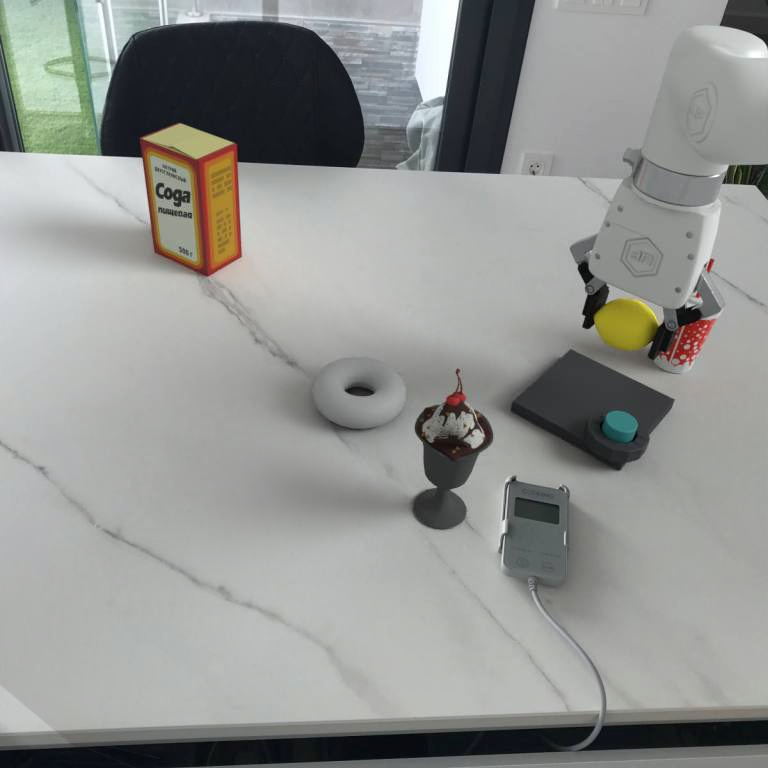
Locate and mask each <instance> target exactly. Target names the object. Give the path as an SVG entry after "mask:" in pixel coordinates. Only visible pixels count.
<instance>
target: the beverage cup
mask: <svg viewBox="0 0 768 768" xmlns="http://www.w3.org/2000/svg"><path fill="white" fill-rule="evenodd" d="M714 262H715V259H714V258H710V260H709V263H708V266H707V269H706V270H707V271H708V273H709V274H710V272H711V271H712V268H713V266H714ZM702 303H703V300H702V298H701V297H700V295H699V293H698V292H697V291H696V292H695V293H692V295H691V296H690V298H689V300H688V301H687V308H688V307H691V306H694V305H697V304H702ZM724 310H725V307H724V308H723V309H722V310H721V311H720V312H719V313H717V314H714V315H712V316H709V317H707V318H703V319H700V320H699V321H697V322H695V323H692V324H689V325H685V326H682V327H679V329H678V331H677V334H676V336H675V339H674V342H673V344H672V346H671V348H670V350H669V351H668V352H667V353H664V352H661V353H660V354H659V355H658V357H657V358H656V359H655V360H654V361H653V363H654V364H655V365H656V366H657V367H658V368H659V369H661V370H663V371H665V372H668V373H672V374H679V375H680V374H685V373H688V372H690V370H691V369H692V367H693V366H694V363H695V362H696V360H697V358H698V356H699V354H700V352H701V350H702V348H703V346H704V344H705V342H706V340H707V338H708V336H709V334H710V332H711V330H712V329H713V326H714V324H715V322H716V321H717V318H719V317H720V316H721V315H722V312H724ZM663 322H664V319H663V320H662V323H663Z"/></svg>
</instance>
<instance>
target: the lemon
mask: <svg viewBox="0 0 768 768" xmlns="http://www.w3.org/2000/svg"><path fill="white" fill-rule="evenodd" d="M594 322H595V324H594V326H595V329H596V332H597V334H598V336H599V337H600V339H601V340H602V341H603V343H604V344H605V345H607V346H610V347H612V348H614V349H617V350H619V351H622V352H627V351H628V352H630V351H631V352H632V351H639V350H643V349H644V348H645V347H647V346H649V345H650V344H652V342H653V339H654V337H655V334H656V331H657V329H658V327H659V326H660V325H661V324H660V323H659V320H658V318H657V316H656V314H655V313H654V311H653V310H652V309H651V308H650V307H649V306H648V305H647V304H645V303H644V302H642V301H641V300H639V299H634V298H629V297H619V298H616V299H613V300H612V299H611V300H610V301H608V302H606V304H605V305H604V306H602V307H601V308H600V309H599V310H598V311H597V312H596V313H595V314H594Z"/></svg>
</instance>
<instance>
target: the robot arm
mask: <svg viewBox="0 0 768 768" xmlns="http://www.w3.org/2000/svg"><path fill="white" fill-rule="evenodd" d="M622 162H623V163H626V164H628V165H629V166H630V167H631V173H630V175H629V176H626V177H624V178H622V181H621V183H620V184H619V185H618V188H617V189H616V191H615V194H614V195H613V197H612V200H611V202H610V204H609V206H608V208H607V211H606V213H605V216H604V218H603V220H602V223H601V226H600V228H599V230H598V233H595V234H592V235H589V236H586V237H584V238H581V239H579V240H577V241H575V242H574V243H572V244H571V245H570V246H569V251H570V253H571V256H572V258H573V260H574V262H575V264H576V265H577V272H578V274H579V276H580V277H581V279H582V281H583V283H584V285H585V286H584V292H585V293H586V297H585V302H584V305H583V308H582V310H581V311H582V312H581V315H582V316H584V318H583V322H582V326H581V328H583V329H585V330H591V328H593V326H595V322H594V314H595V313H596V312H597V311H598V310H599V309H600V308H601V307H602V306H604V305H605V304H607V301H608V297H609V294H610V292H611V291H610V286H612V287H614V288H616V289H619V290H621V291H623V292H625V293H628V294H630V295H632V296H635V297H637V298H640V299H642V300H644V301H646V302H649V303H651V304H654V305H656V306H659V307H661V308H662V311H663V320H664V322H663V321H662V323H661V324H659V325H660V326H659V327H658V329H657V331H656V334H655V337H654V339H653V342H651V345H650V348H649V350H648V353H647V357H648V360H651V361H653V362H654V360H655V359H656V358H657V357H658V355H659V354H660V353H661V352H664V353H667V352H668V351H669V350H670V348H671V346H672V344H673V342H674V339H675V336H676V334H677V331H678V329H679V327H682V326H685V325H689V324H692V323H695V322H697V321H699V320H700V319H703V318H707V317H709V316H712V315H714V314H717V313H719V312H720V311H721V310H722V309H723V308H724V309H725V307H726V300H725V299H724V298H723V295H722V294H721V292H720V291H719V289H718V287H717V285H716V284H715V282H714V280H713V279H712V276H711V275H710V273H708V271H707V270H706V269H707V266H708V263H709V260H710V259H711V256H712V252H713V249H714V246H715V241H716V238H717V233H718V229H719V223H720V218H721V212H722V201H721V200H720V199H719V198H718V195H719V192H720V190H721V187H722V185H723V183H724V180H725V177H726V175H727V172H728V170H729V166H751V165H752V166H755V165H756V166H757V165H759V166H760V165H762V166H763V165H768V45H767V44H766V43H765V41H764V40H763V39H761V38H759V37H758V36H756V35H754V34H753V33H750V32H748V31H745V30H742V29H738V28H734V27H729V26H723V25H713V24H702V25H695V26H694V25H693V26H690V27H688V28H686V29H684V30H682V31H681V32H680V33H679V34H678V36H677V37H676V38H675V40H674V42H673V43H672V46H671V49H670V52H669V55H668V58H667V62H666V65H665V67H664V72H663V74H662V78H661V82H660V84H659V89H658V92H657V94H656V99H655V103H654V106H653V109H652V112H651V115H650V119H649V123H648V126H647V129H646V132H645V136H644V139H643V142H642V146H641V147H640V148H635V149H634V148H632V147H627V148H626V149H625V151H624V153H623V155H622ZM608 285H610V286H608ZM696 291H697V292H698V293H699V295H700V297H701V298H702V300H703V303H702V304H697V305H694V306H691V307H688V308H687V301H688V300H689V298H690V296H691V295H692V293H695V292H696Z"/></svg>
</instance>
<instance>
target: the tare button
mask: <svg viewBox="0 0 768 768" xmlns="http://www.w3.org/2000/svg"><path fill="white" fill-rule="evenodd" d="M637 427H638V423H637V421H636V419H635V418H634V417H633V416H631V415H630V414H628V413H626V412H622V411H612V412H609V413H608V414H607V415H606V417H605V420H604V423H603V426H602V432H603V434H604V435H605V436H606V437H607V438H609V439H610V440H612V441H614V442H620V443H628V442H630V441H631V440H632V439H633V437H634V435H635V432H636V430H637Z"/></svg>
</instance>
